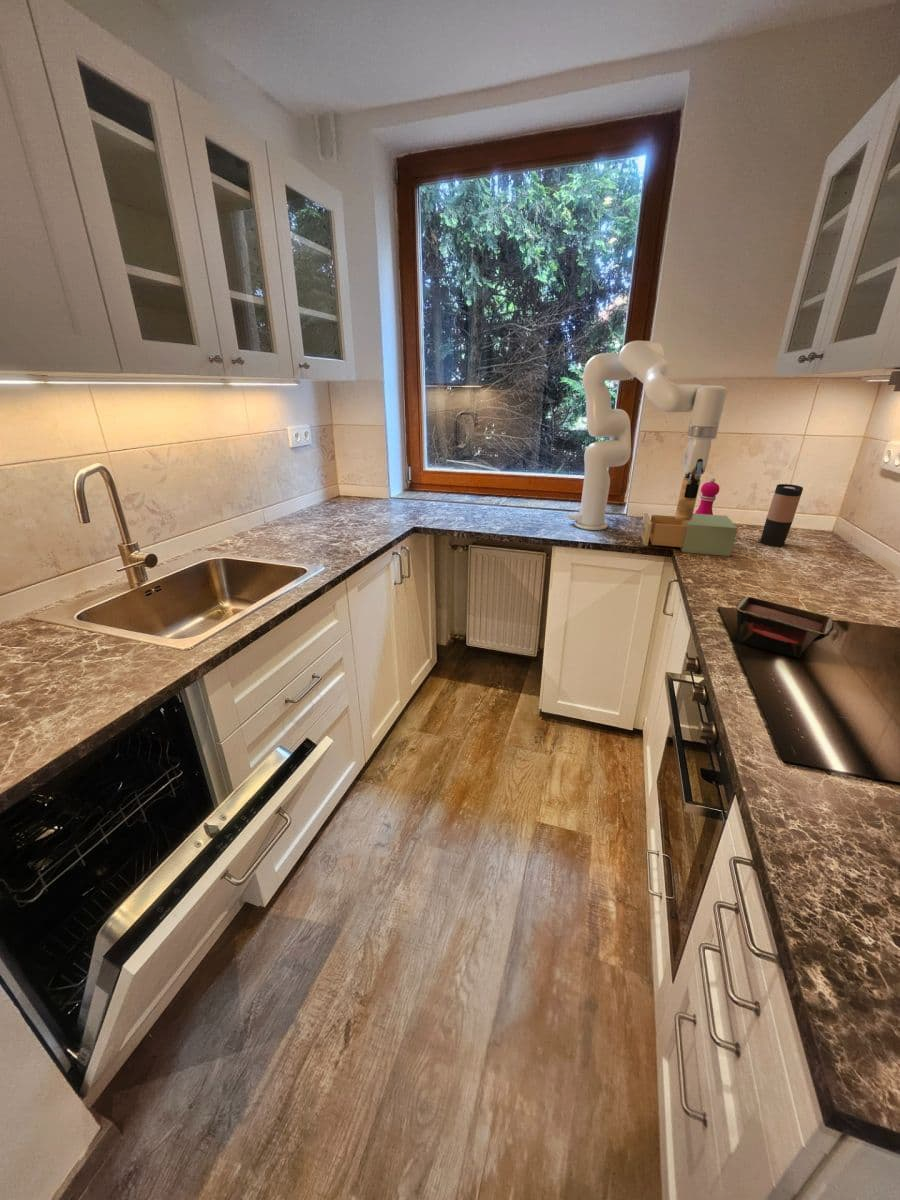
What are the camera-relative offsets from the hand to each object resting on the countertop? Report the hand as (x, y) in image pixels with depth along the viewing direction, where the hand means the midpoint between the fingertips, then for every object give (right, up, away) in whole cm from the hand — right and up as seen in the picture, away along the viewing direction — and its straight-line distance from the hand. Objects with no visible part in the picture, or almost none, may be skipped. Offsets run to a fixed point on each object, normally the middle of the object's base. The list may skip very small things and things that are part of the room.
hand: (688, 494), depth 143 cm
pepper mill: (+22, -6, +35) cm, 42 cm away
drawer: (0, -11, +22) cm, 25 cm away
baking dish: (+1, -41, -37) cm, 55 cm away
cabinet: (+14, -14, +19) cm, 28 cm away
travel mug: (+41, -12, +23) cm, 49 cm away
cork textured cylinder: (0, -7, +3) cm, 7 cm away
